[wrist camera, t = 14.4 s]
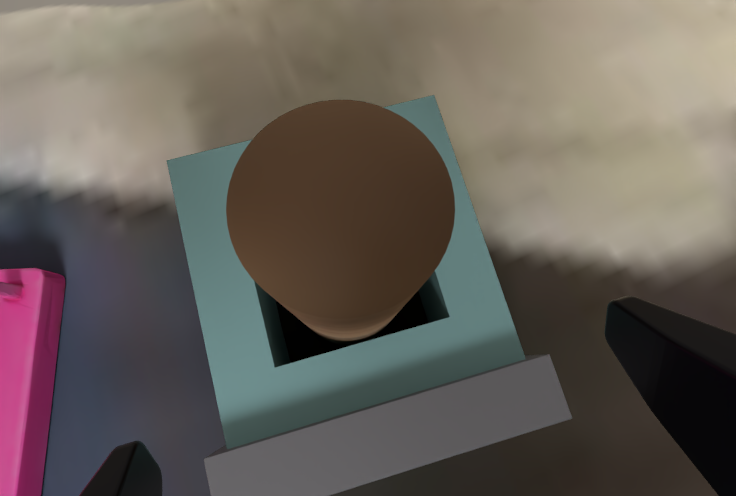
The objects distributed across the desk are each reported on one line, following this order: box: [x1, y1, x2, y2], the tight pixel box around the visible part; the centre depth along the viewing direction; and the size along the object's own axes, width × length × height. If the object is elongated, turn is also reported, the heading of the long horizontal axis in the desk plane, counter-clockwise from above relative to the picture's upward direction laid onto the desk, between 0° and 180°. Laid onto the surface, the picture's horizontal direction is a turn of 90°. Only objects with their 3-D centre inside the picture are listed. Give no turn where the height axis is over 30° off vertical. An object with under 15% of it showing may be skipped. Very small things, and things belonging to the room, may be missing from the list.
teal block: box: [167, 95, 526, 449], centre depth 19 cm, size 10×10×4 cm
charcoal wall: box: [204, 354, 572, 496], centre depth 17 cm, size 2×11×6 cm, turn 106°
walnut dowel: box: [226, 100, 455, 346], centre depth 15 cm, size 4×4×13 cm
